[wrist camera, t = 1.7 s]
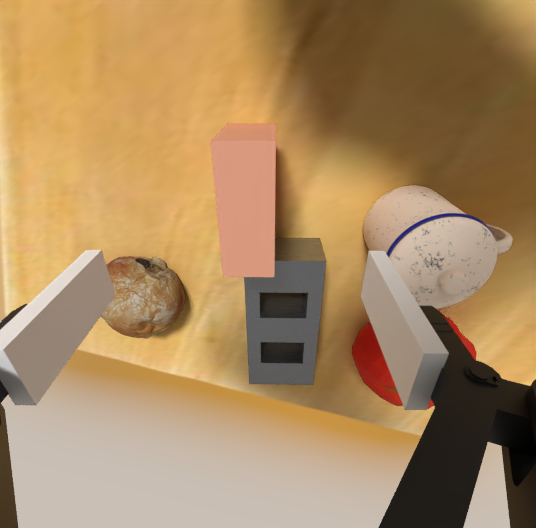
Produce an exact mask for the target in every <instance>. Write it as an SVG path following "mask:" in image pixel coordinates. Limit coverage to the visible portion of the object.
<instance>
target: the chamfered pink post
mask: <svg viewBox="0 0 536 528" xmlns="http://www.w3.org/2000/svg"><path fill="white" fill-rule="evenodd" d="M211 148H212V160H213V171H214V182H215V193H216V204H217V216H218V227H219V238H220V249H221V260H222V272H223V277H274V272H275V167H276V124H227V125H226V126H225V127H224V128H223V129H222V130H221V131H220V132H219V133H218V134H217V135H216V136H215V137H214V138H213V139H212V140H211Z"/></svg>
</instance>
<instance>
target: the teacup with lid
mask: <svg viewBox="0 0 536 528" xmlns="http://www.w3.org/2000/svg"><path fill="white" fill-rule="evenodd" d="M363 235H364V239H365V242H366V244H367V246H368V248H369V250H370V251H385V252H386V254H387V256H388V257H389V259H390V260H391V262H392V263H393V265H394V267H395V268H396V270H397V271H398V273H399V275H400V276H401V278H402V279H403V281H404V283H405V284H406V286H407V287H408V289H409V291H410V292H411V294H412V295H413V297H414V299H415V300H416V302H417V303H418V305H421V306H433V307H434V308H435V309H438V308H444V307H448V306H451V305H454V304H457V303H459V302H461V301H463V300H465V299H467V298H468V297H470V296H471V295H473V294H474V293H475V292H477V291H478V290H479V289H480V288H481V287H482V286H483V285H484V284H485V283H486V281H487V280H488V279H489V277H490V276H491V274H492V272H493V270H494V268H495V265H496V261H497V254H501V253H504V252H506V251H508V250H509V249H510V247H511V245H512V241H513V238H512V236H511V235H510V234H509V233H508V232H506V231H505V230H503V229H501V228H498V227H496V226H492V225H488V224H485V223H483V222H482V221H480V220H479V219H477V218H475V217H473V216H470V215H467V214H465V213H464V212H462V211H461V210H460V209H458V208H457V207H456V206H454V205H453V204H452V203H450V202H449V201H447V200H446V199H445V198H443V197H442V196H441V195H439V194H438V193H436V192H435V191H433V190H432V189H429V188H427V187H424V186H417V185H410V186H403V187H399V188H396V189H394V190H392V191H390V192H388V193H386V194H385V195H383V196H382V197H381V198H379V199H378V200H377V201H376V202H375V203H374V204H373V206H372V207H371V208H370V210H369V212H368V214H367V216H366V218H365V221H364V226H363Z"/></svg>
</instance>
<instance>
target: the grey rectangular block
mask: <svg viewBox="0 0 536 528" xmlns="http://www.w3.org/2000/svg"><path fill="white" fill-rule="evenodd" d="M325 267H326V259H325V255H324V252H323V248H322V244H321V241H320V238H275V272H274V277H244V282H245V303H246V323H247V344H248V365H249V384H290V385H313V380H314V371H315V361H316V352H317V343H318V333H319V324H320V314H321V305H322V295H323V286H324V276H325Z"/></svg>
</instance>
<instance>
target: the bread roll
mask: <svg viewBox="0 0 536 528" xmlns="http://www.w3.org/2000/svg"><path fill="white" fill-rule="evenodd" d="M106 266H107V269H108V272H109V275H110V279H111V282H112V285H113V288H114V292H115V297H114V298H113V300H112V301H111V302H110V304H109V305H108V306H107V308H106V309H105V311H104V312H103V313H102V315H101V317H102V318H103V319H104V320H105V321H106V322H107V323H108V325H109V326H110V327H111V328H112V329H114V330H116V331H117V332H119V333H121V334H123V335H125V336H130V337H136V338H146V339H147V338H149V337H151V336H152V335H157V334H158V333H161V332H162V331H163V330H165V329H167V328H169V327H170V326H172V324H173V323H174V322H176V321H177V319H178V316H179V314H180V312H181V311H182V309H183V306H184V302H185V294H184V290H183V287H182V285H181V283H180V280H179V278H178V277H177V275H176V274H175V273H174V272H173V271H172V270H171V269H169V268H167V267H166V264H165V262H164V261H163V260H161V259H159V258H154V257H152V259H150V258H145V257H131V256H129V257H119V258H117V259H115V260H113V261H111V262H110V263H108V264H107V265H106Z"/></svg>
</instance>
